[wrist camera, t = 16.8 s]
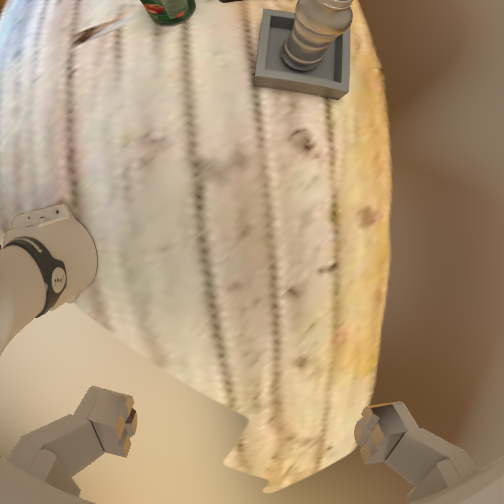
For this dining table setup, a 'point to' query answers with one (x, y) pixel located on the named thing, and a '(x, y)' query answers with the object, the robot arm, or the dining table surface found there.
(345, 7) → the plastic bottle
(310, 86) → the tray
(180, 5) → the canned tomato
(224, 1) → the phone
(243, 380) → the dining table surface
